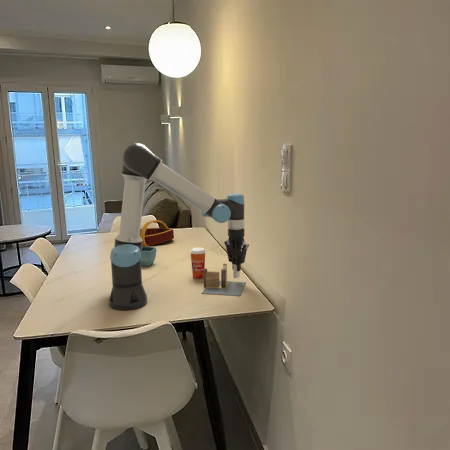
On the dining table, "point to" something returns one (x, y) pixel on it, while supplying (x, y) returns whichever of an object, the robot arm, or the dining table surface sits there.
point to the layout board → (226, 289)
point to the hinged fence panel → (225, 269)
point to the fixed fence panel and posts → (214, 278)
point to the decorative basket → (155, 234)
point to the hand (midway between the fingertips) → (236, 277)
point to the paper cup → (198, 262)
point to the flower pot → (148, 255)
